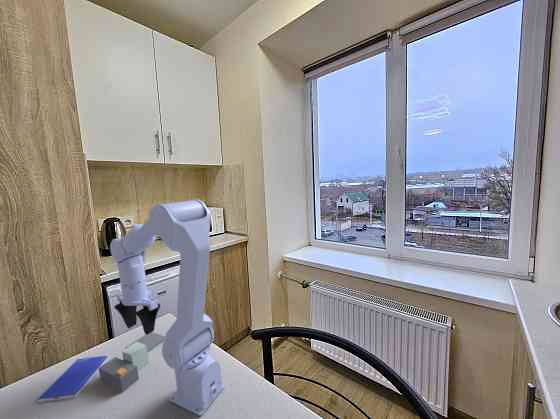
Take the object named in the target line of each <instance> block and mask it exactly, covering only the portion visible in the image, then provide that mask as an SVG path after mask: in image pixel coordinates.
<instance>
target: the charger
mask: <svg viewBox="0 0 560 419" xmlns="http://www.w3.org/2000/svg"><path fill="white" fill-rule="evenodd" d="M134 342H135V341H134ZM131 344H132V343H131ZM128 346H129V345H128ZM121 354H122V360H124V361H126V362H128V363H130V364H133V365H135V366H137V370H138V373H139V372H140V371H142V370H143V369H144V368H145V367H147V366H148V365H149V364H150V362H149V356H148V353H147V348H146V345H144V344H141V343H139V342H135V343H134V344H132V345H131V346H129V347H128V348H126V347H125V348H124V349H123V350H121Z"/></svg>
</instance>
